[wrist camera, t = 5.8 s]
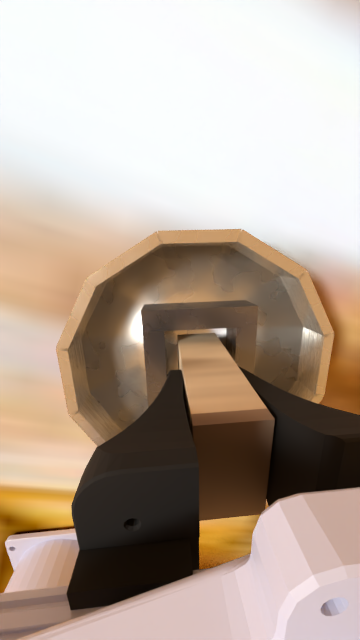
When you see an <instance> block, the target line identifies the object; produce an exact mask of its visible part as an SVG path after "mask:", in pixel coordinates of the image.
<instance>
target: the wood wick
mask: <svg viewBox="0 0 360 640" xmlns="http://www.w3.org/2000/svg"><path fill="white" fill-rule="evenodd" d="M177 346H178V370H181V371H182V374H183V386H184V405H185V410H186V415H187V419H188V423H189V427H190V431H191V434H192V437H193V441H194V444H195V446H196V451H197V457H198V464H199V521H201V520H210V519H220V518H229V517H239V516H248V515H258V514H261V513H262V512H263V511H264V510H265V504H266V495H267V486H268V477H269V468H270V459H271V450H272V441H273V432H274V423H275V419H274V417H273V416H272V415H271V413H270V412H269V410H268V409H267V407H266V406H265V405H264V403H263V402H262V400H261V399H260V397H259V396H258V394H257V393H256V392H255V390H254V389H253V387H252V386H251V384H250V383H249V381H248V380H247V379H246V377H245V376H244V374H243V373H242V371H241V370H240V369H239V367H238V366H237V364H236V363H235V361H234V360H233V358H232V357H231V356H230V354H229V353H228V351H227V350H226V348H225V347H224V345H223V344H222V343H221V341H220V340H219V338H218V337H217V335H216V334H215V333H204V334H184V335H177Z"/></svg>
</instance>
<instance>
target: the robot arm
mask: <svg viewBox="0 0 360 640" xmlns="http://www.w3.org/2000/svg"><path fill="white" fill-rule="evenodd" d="M238 367H239V366H238ZM239 369H240V370H241V371H242V373H243V374H244V376H245V377H246V379H247V380H248V381H249V383H250V384H251V386H252V387H253V389H254V390H255V392H256V393H257V394H258V396H259V397H260V399H261V400H262V402H263V403H264V405H265V406H266V407H267V409H268V410H269V412H270V413H271V415H272V416H273V417H274V419H275V423H274V432H273V441H272V450H271V459H270V468H269V477H268V486H267V495H266V499H267V502H268V505H269V507H268V508H267V509H265V510H264V511H263V512H262V513H261V515H260V518H259V520H258V522H257V525H256V527H255V529H254V532H253V536H252V549H251V554H249V555H246V556H243V557H240V558H238V559H235V560H232V561H230V562H227V563H224V564H221V565H219V566H216V567H213V568H209V569H200V570H199V464H198V457H197V451H196V446H195V444H194V441H193V437H192V434H191V431H190V427H189V423H188V419H187V415H186V410H185V405H184V386H183V374H182V371H181V370H170V371H169V373H168V377H167V379H166V381H165V383H164V385H163V387H162V389H161V391H160V392H159V394H158V395H157V397H156V398H155V400H154V401H153V402H152V404H151V405H150V406H149V407H148V408H147V410H146V411H145V412H144V413H143V414H142V415H141V416H140V417H139V418H138V419H137V420H136V421H135V422H133V423H132V424H131V425H130V426H128V427H127V428H126V429H124V430H123V431H122V432H120V433H119V434H117V435H116V436H114V437H113V438H111V439H109V440H108V441H106V442H105V443H103V444H101V445H99V446H98V447H97V448H96V450H95V452H94V453H93V455H92V457H91V459H90V461H89V463H88V465H87V467H86V468H85V471H84V473H83V475H82V478H81V480H80V483H79V486H78V488H77V491H76V494H75V497H74V500H73V503H72V518H73V522H74V527H75V528H74V529H65V530H55V531H46V532H36V533H26V534H17V535H11V536H9V537H8V539H7V540H6V542H5V546H6V549H7V552H8V555H9V558H10V561H11V563H12V566H13V569H14V573H13V575H12V577H11V579H10V581H9V583H8V585H7V587H6V589H5V591H4V593H0V640H360V415H357V414H353V413H349V412H345V411H341V410H337V409H334V408H330V407H327V406H324V405H321V404H317V403H314V402H311V401H309V400H306V399H303V398H301V397H298V396H296V395H293V394H291V393H289V392H286V391H284V390H282V389H280V388H278V387H276V386H274V385H272V384H270V383H268V382H266V381H264V380H263V379H261V378H259V377H257V376H256V375H254V374H252V373H250V372H249V371H247V370H245V369H243V368H241V367H239Z"/></svg>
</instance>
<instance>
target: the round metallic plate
mask: <svg viewBox="0 0 360 640" xmlns="http://www.w3.org/2000/svg"><path fill="white" fill-rule="evenodd" d="M204 333H215V334H216V335H217V337H218V338H219V340H220V341H221V343H222V344H223V345H224V347H225V348H226V350H227V351H228V353H229V354H230V356H231V357H232V358H233V360H234V361H235V363H236V364H237V366H239V367H241V368H243V369H245V370H247V371H249V372H250V373H252V374H254V375H256V376H257V377H259V378H261V379H263V380H264V381H266V382H268V383H270V384H272V385H274V386H276V387H278V388H280V389H282V390H284V391H286V392H289V393H291V394H293V395H296V396H298V397H301V398H303V399H306V400H309V401H311V402H314V403H317V404H319V403H320V401H321V400H322V399H323V396H324V395H325V389H326V382H327V376H328V370H329V364H330V358H331V352H332V345H333V339H334V334H333V333H334V331H333V329H332V326H331V324H330V322H329V319H328V317H327V315H326V312H325V310H324V308H323V305H322V303H321V301H320V298H319V296H318V294H317V291H316V289H315V287H314V284H313V282H312V280H311V277H310V275H309V273H308V271H306V269H305V268H303V267H302V266H300V265H298V264H297V263H295V262H294V261H292V260H290V259H289V258H287V257H286V256H284V255H282V254H281V253H279V252H278V251H276V250H275V249H273V248H271V247H270V246H268V245H267V244H265V243H263V242H262V241H260V240H259V239H257V238H255V237H254V236H252V235H251V234H249V233H248V232H246V231H244V230H241V229H225V230H178V231H158V233H157V231H156V232H155V233H153V234H152V235H150V236H149V237H147V238H146V239H144V240H143V241H141V242H140V243H138V244H137V245H135V246H134V247H132V248H131V249H129V250H128V251H126V252H125V253H123V254H122V255H120V256H118V257H117V258H115V259H114V260H112V261H111V262H109V263H108V264H106V265H105V266H103V267H102V268H100V269H99V270H97V271H96V272H94V273H93V274H91V275H90V276H88V277H87V278H86V280H85V282H84V284H83V287H82V289H81V291H80V294H79V296H78V298H77V300H76V303H75V305H74V307H73V310H72V312H71V314H70V317H69V319H68V321H67V324H66V326H65V328H64V330H63V333H62V335H61V337H60V340H59V342H58V344H57V347H56V352H57V357H58V362H59V367H60V372H61V378H62V383H63V388H64V393H65V399H66V404H67V409H68V414H70V415H69V416H70V417H71V418H72V419H73V420H74V421H75V422H76V423H77V424H78V426H79V427H80V428H81V429H82V430H83V431H84V432H85V433H86V434H87V435H88V436H89V437H90V438H91V439H92V441H93V442H94V443H95V444H96V445H97V446H99V445H101V444H103V443H105V442H106V441H108V440H109V439H111V438H113V437H114V436H116V435H117V434H119V433H120V432H122V431H123V430H124V429H126V428H127V427H128V426H130V425H131V424H132V423H133V422H135V421H136V420H137V419H138V418H139V417H140V416H141V415H142V414H143V413H144V412H145V411H146V410H147V408H148V407H149V406H150V405H151V404H152V402H153V401H154V400H155V398H156V397H157V395H158V394H159V392H160V391H161V389H162V387H163V385H164V383H165V381H166V379H167V377H168V373H169V371H170V370H178V346H177V335H184V334H204Z"/></svg>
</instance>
